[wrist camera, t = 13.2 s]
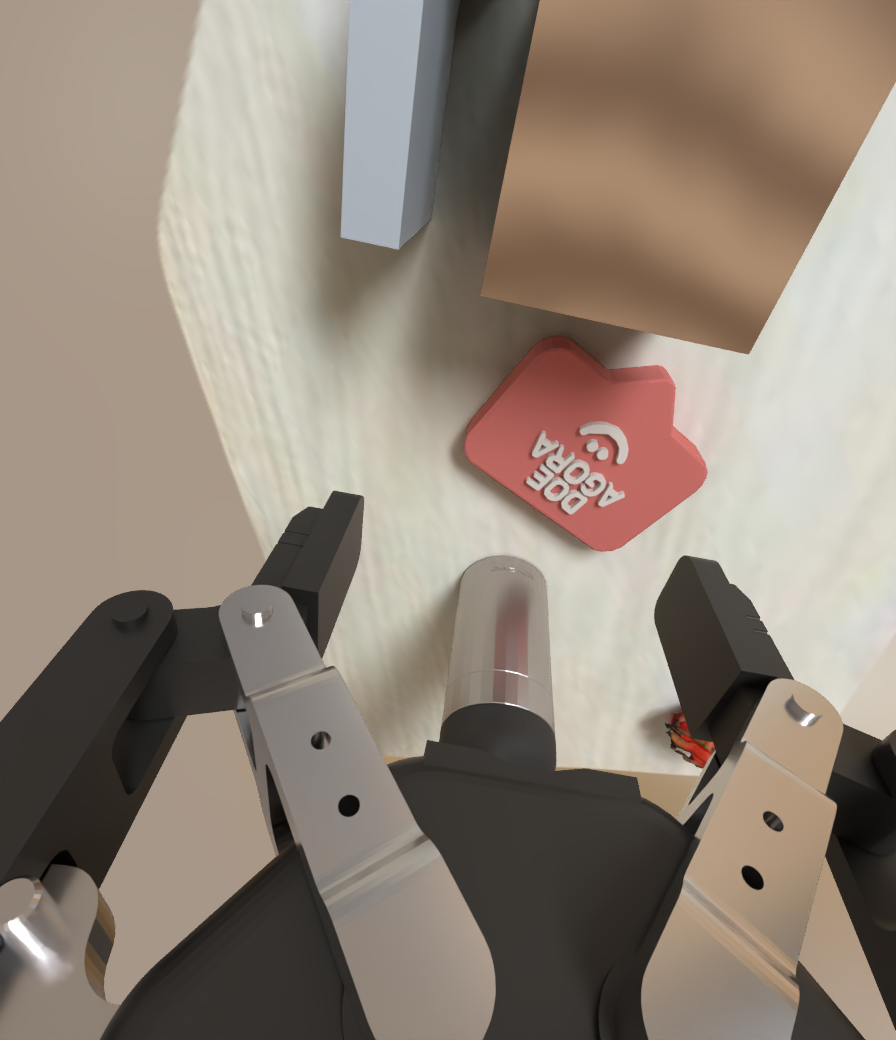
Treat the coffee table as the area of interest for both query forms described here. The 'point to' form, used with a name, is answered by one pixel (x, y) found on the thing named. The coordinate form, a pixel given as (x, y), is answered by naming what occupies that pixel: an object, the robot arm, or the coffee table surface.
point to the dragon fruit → (688, 742)
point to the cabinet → (682, 156)
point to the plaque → (586, 443)
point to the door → (394, 115)
